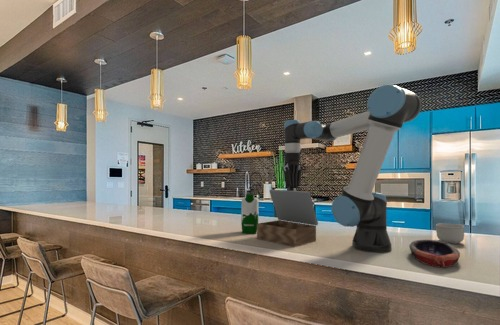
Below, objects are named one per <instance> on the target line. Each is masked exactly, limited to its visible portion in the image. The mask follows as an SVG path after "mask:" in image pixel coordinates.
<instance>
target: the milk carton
mask: <svg viewBox="0 0 500 325" xmlns="http://www.w3.org/2000/svg"><path fill="white" fill-rule="evenodd" d="M254 195H255V194H254V193H246V194H245V196H244V197H242V198H241V210H240V211H241V212H240V214H241V217H240V218H241V220H240V221H241V224H240V225H241V233H242V234H244V235H245V234H246V235H247V234H248V235H249V234H250V235H251V234H252V235H257V224H258V223H259V205H260V204H259V198H258V197H255V196H254Z"/></svg>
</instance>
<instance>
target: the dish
mask: <svg viewBox="0 0 500 325" xmlns="http://www.w3.org/2000/svg"><path fill="white" fill-rule="evenodd" d="M409 250H410V253H411V255H412V256H413V258H414V259H416V260H417V261H419V262H421V263H422V264H427V265H429V266H433V267H437V268H448V267H452V266H454V265H456V264H457V263H458V261H459V258H460V256H461V253H460V251H459V249H457V248H456V247H455V246H454V245H453V244H449V243H448V242H445V243H444V242H442V241H441V240H436V239H435V240H433V239H417V240H414V241H412V242H411V243H410V244H409Z"/></svg>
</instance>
